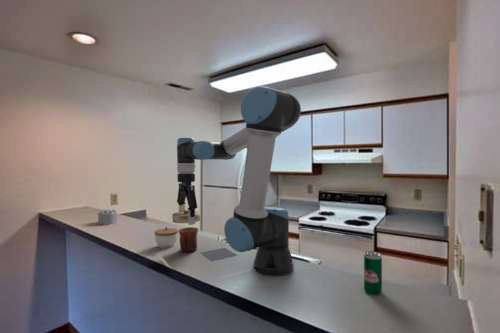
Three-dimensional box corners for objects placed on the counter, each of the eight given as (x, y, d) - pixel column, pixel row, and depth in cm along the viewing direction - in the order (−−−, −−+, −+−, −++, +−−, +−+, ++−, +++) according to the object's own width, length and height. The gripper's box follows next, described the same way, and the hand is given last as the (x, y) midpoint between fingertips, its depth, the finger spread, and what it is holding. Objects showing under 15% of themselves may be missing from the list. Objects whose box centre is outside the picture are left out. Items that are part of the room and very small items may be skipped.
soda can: (361, 291, 83) (361, 253, 83) (367, 286, 86) (367, 249, 86) (378, 297, 79) (378, 257, 79) (384, 291, 83) (384, 253, 83)
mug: (184, 248, 126) (183, 226, 126) (201, 249, 124) (201, 227, 124) (171, 257, 114) (171, 233, 114) (190, 259, 112) (190, 234, 112)
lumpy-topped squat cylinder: (113, 220, 189) (113, 208, 188) (119, 223, 179) (119, 210, 179) (96, 222, 181) (96, 210, 181) (102, 226, 172) (102, 212, 172)
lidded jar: (169, 251, 122) (169, 230, 122) (149, 249, 126) (149, 229, 126) (182, 244, 132) (182, 225, 132) (164, 242, 136) (164, 224, 136)
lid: (204, 220, 117) (204, 211, 117) (177, 224, 111) (177, 214, 111) (194, 216, 127) (194, 207, 127) (169, 219, 121) (169, 210, 121)
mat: (237, 257, 113) (237, 255, 113) (211, 263, 107) (211, 261, 107) (224, 249, 124) (224, 247, 123) (200, 254, 117) (200, 252, 117)
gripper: (205, 173, 110) (205, 226, 111) (185, 171, 131) (185, 215, 131) (187, 174, 106) (187, 228, 107) (169, 172, 127) (170, 217, 127)
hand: (186, 221), depth 119 cm, fingers closed on lid, 12 cm apart
